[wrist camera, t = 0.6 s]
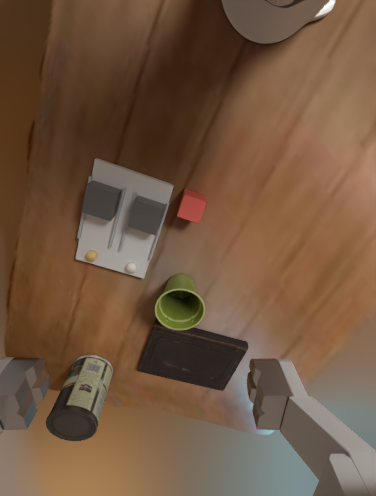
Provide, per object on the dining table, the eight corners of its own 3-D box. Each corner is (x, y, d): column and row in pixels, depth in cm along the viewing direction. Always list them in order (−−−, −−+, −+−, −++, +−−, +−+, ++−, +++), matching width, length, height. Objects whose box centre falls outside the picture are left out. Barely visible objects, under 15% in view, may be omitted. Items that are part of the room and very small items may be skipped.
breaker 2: (138, 195, 46) (134, 199, 43) (165, 204, 47) (163, 209, 44) (131, 220, 48) (127, 226, 45) (157, 228, 49) (155, 235, 46)
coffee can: (77, 384, 69) (53, 442, 56) (68, 355, 64) (39, 411, 51) (116, 382, 68) (101, 440, 56) (109, 353, 64) (91, 409, 51)
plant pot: (150, 288, 57) (144, 313, 49) (177, 258, 54) (175, 280, 46) (183, 310, 59) (183, 338, 51) (211, 282, 56) (215, 307, 48)
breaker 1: (92, 179, 45) (85, 183, 42) (121, 189, 46) (117, 193, 43) (86, 206, 47) (80, 211, 44) (115, 215, 48) (110, 221, 45)
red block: (184, 188, 48) (184, 194, 43) (204, 195, 48) (207, 202, 44) (177, 208, 49) (177, 216, 45) (197, 215, 50) (198, 223, 45)
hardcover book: (222, 383, 70) (223, 391, 68) (138, 363, 67) (137, 371, 64) (246, 340, 64) (249, 347, 62) (156, 315, 60) (155, 322, 58)
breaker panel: (96, 157, 45) (91, 159, 43) (175, 185, 47) (174, 187, 45) (77, 255, 53) (72, 261, 51) (145, 275, 55) (144, 281, 53)
